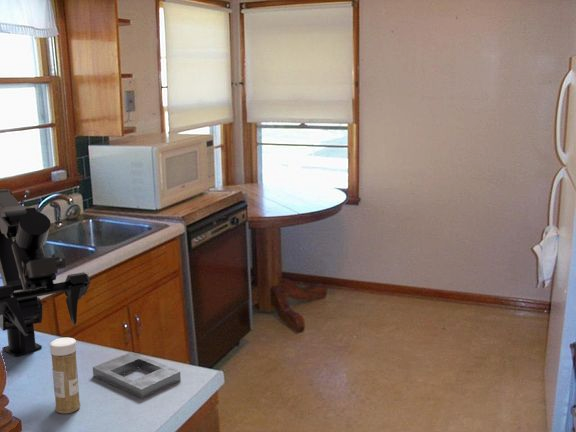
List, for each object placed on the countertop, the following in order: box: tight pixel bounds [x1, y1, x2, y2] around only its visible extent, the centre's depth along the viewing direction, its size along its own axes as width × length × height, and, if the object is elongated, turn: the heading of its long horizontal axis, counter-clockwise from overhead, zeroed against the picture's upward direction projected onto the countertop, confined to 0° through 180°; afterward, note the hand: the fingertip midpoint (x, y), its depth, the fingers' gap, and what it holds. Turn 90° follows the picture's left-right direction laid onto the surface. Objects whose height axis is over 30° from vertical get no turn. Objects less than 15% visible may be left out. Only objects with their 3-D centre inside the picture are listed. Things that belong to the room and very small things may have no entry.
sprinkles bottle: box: [49, 337, 81, 415], centre depth 113 cm, size 5×5×14 cm
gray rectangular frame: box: [92, 351, 182, 400], centre depth 126 cm, size 16×10×2 cm, turn 52°
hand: (51, 329), depth 118 cm, fingers open, 9 cm apart
